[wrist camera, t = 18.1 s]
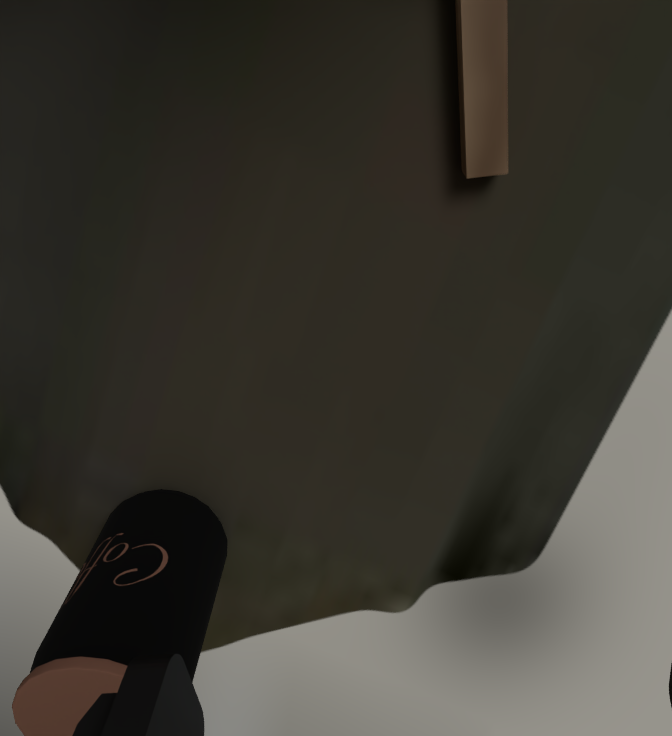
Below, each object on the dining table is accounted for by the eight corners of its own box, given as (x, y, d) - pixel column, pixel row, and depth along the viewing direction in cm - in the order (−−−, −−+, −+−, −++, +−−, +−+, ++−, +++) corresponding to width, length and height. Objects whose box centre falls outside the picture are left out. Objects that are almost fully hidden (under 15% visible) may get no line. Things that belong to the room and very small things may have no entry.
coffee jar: (197, 468, 54) (124, 652, 38) (250, 559, 58) (205, 757, 42) (88, 501, 56) (-24, 688, 40) (147, 586, 60) (68, 784, 44)
